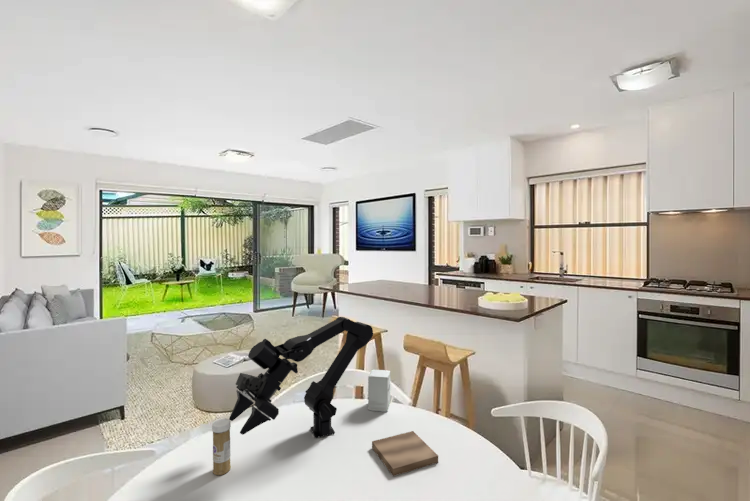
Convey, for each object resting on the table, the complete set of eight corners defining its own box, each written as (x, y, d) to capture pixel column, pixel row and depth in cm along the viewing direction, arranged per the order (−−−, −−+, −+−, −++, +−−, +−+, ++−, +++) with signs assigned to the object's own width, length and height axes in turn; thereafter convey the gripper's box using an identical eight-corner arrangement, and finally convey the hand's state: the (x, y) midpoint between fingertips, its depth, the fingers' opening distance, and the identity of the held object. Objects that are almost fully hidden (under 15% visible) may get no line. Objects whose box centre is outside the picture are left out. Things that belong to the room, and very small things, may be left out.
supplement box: (387, 412, 129) (387, 377, 128) (367, 410, 130) (367, 376, 130) (391, 403, 136) (390, 370, 136) (371, 401, 138) (371, 368, 137)
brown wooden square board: (372, 447, 107) (372, 441, 107) (413, 437, 113) (413, 430, 112) (393, 476, 94) (393, 468, 94) (438, 462, 100) (438, 455, 100)
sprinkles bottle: (208, 473, 95) (207, 423, 95) (222, 463, 100) (221, 416, 99) (222, 477, 94) (221, 427, 93) (235, 467, 98) (234, 419, 98)
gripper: (243, 354, 109) (204, 400, 102) (267, 371, 94) (223, 426, 88) (268, 373, 114) (233, 418, 107) (294, 393, 99) (255, 446, 93)
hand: (235, 426), depth 99 cm, fingers open, 9 cm apart
